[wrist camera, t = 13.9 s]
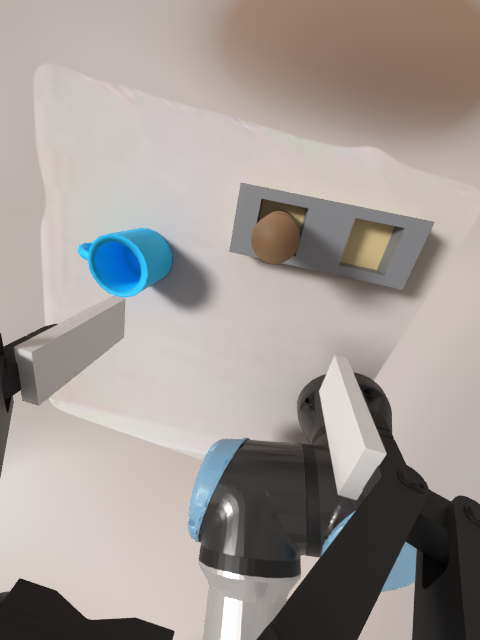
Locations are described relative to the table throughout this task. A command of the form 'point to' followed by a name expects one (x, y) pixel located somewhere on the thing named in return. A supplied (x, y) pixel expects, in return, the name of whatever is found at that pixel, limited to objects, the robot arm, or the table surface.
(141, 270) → the mug
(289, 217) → the peg
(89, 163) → the table surface
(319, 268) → the rail
